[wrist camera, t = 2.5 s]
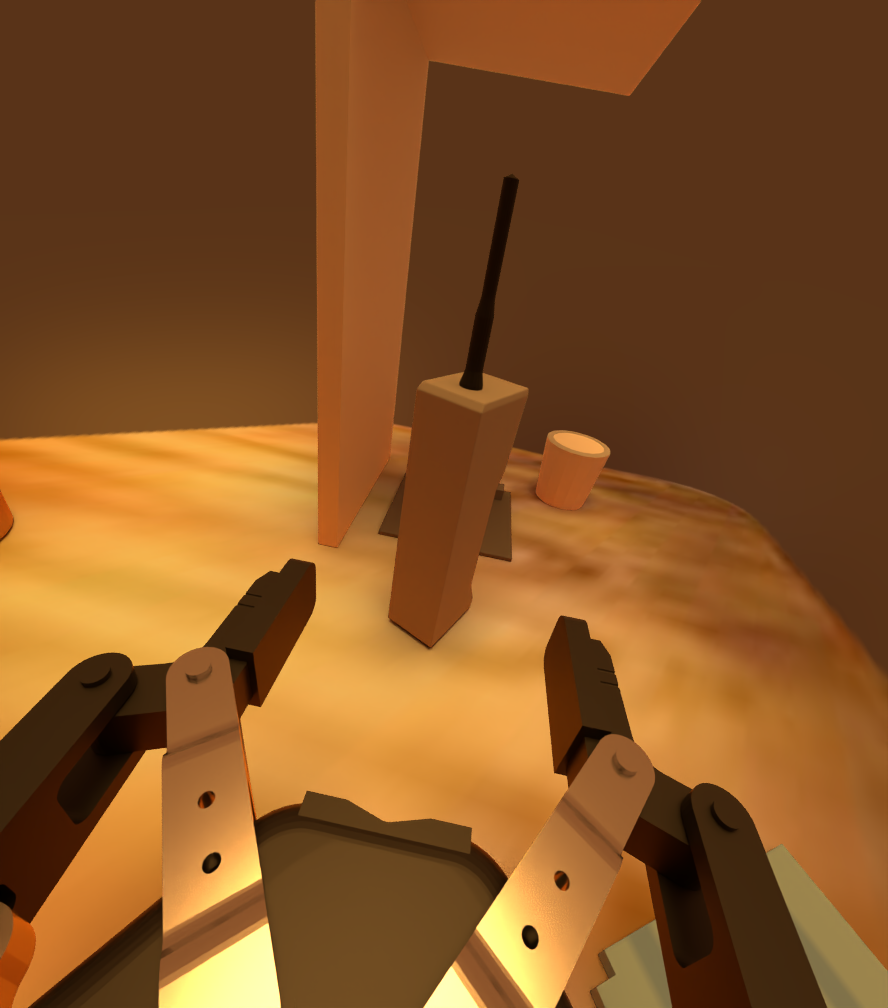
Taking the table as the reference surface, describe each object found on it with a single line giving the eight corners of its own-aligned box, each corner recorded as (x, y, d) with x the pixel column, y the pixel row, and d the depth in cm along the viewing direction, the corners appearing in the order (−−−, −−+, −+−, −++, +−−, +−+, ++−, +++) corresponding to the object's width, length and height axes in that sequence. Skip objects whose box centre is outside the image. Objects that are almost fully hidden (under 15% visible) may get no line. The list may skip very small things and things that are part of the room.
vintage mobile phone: (470, 609, 30) (583, 195, 17) (429, 651, 27) (535, 164, 13) (430, 584, 32) (506, 187, 19) (387, 620, 28) (444, 157, 15)
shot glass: (592, 518, 45) (617, 462, 41) (531, 505, 45) (549, 448, 41) (583, 489, 50) (604, 436, 47) (529, 477, 51) (545, 424, 47)
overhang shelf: (318, 543, 34) (314, -231, 15) (376, 455, 49) (411, 18, 30) (520, 586, 33) (783, -157, 14) (516, 483, 49) (640, 58, 30)
